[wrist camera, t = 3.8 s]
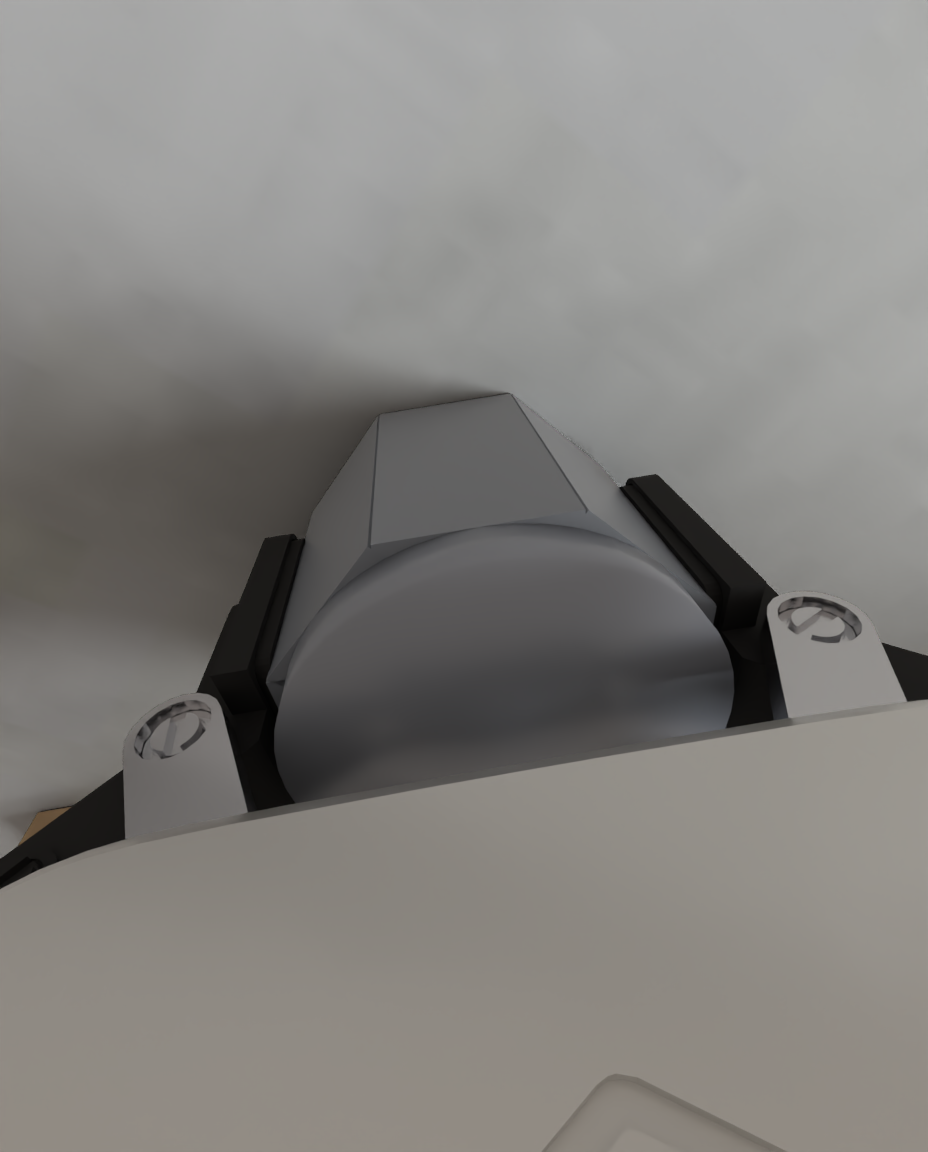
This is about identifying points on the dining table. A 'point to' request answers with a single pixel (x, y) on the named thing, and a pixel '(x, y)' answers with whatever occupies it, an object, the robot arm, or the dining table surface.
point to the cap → (482, 611)
